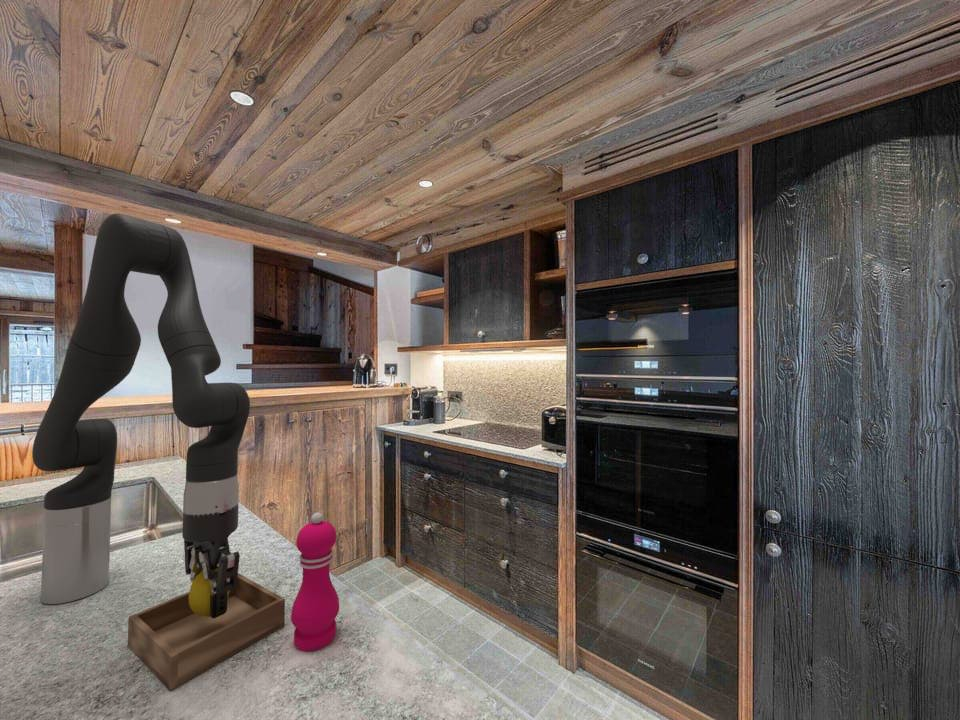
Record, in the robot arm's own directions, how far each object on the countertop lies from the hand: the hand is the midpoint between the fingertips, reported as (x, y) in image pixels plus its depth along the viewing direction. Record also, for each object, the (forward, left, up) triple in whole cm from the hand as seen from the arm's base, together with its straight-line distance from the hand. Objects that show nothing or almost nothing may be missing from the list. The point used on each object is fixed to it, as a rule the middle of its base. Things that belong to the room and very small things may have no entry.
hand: (209, 608), depth 64 cm
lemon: (0, 0, -2) cm, 2 cm away
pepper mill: (+15, +9, -5) cm, 18 cm away
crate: (0, 0, -4) cm, 4 cm away
